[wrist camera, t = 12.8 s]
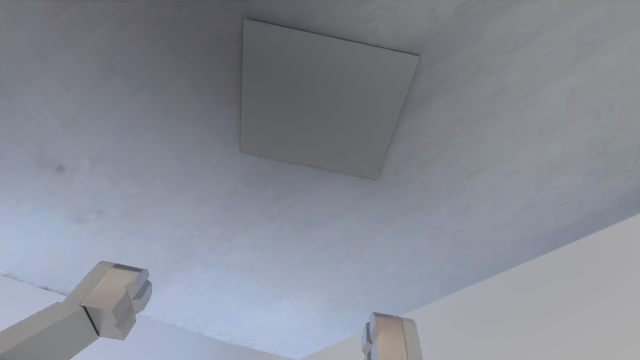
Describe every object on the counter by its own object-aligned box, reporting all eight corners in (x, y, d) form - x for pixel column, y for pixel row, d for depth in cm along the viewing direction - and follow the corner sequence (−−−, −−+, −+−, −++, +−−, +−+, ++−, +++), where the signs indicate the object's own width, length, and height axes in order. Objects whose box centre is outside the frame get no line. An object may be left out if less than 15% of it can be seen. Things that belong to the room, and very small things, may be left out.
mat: (241, 149, 30) (239, 152, 30) (245, 17, 23) (243, 18, 23) (376, 177, 30) (376, 180, 30) (419, 55, 23) (420, 56, 23)
